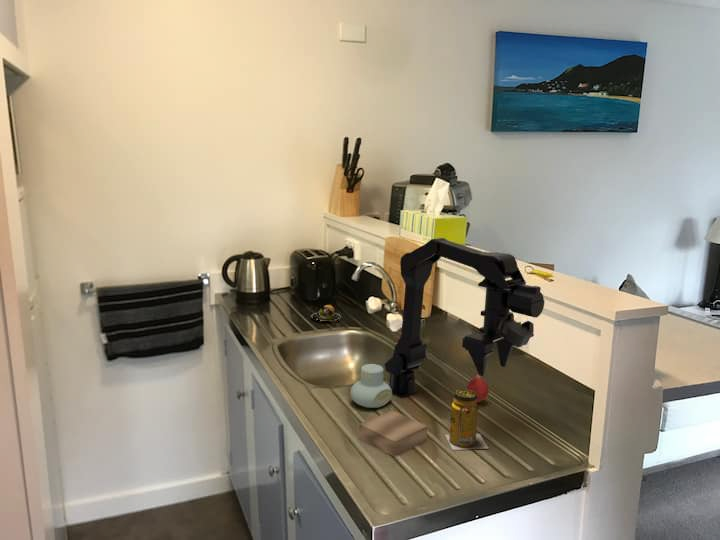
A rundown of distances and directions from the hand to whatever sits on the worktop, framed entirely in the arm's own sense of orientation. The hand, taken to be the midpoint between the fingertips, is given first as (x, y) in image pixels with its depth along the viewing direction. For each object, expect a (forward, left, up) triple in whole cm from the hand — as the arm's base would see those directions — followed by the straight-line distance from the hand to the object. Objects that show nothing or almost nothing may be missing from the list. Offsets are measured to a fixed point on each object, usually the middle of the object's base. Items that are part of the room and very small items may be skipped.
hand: (492, 371), depth 139 cm
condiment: (+1, -10, -15) cm, 18 cm away
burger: (-93, +29, -15) cm, 99 cm away
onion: (-10, +10, -15) cm, 21 cm away
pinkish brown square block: (-11, -22, -15) cm, 29 cm away
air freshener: (-28, -12, -15) cm, 34 cm away
